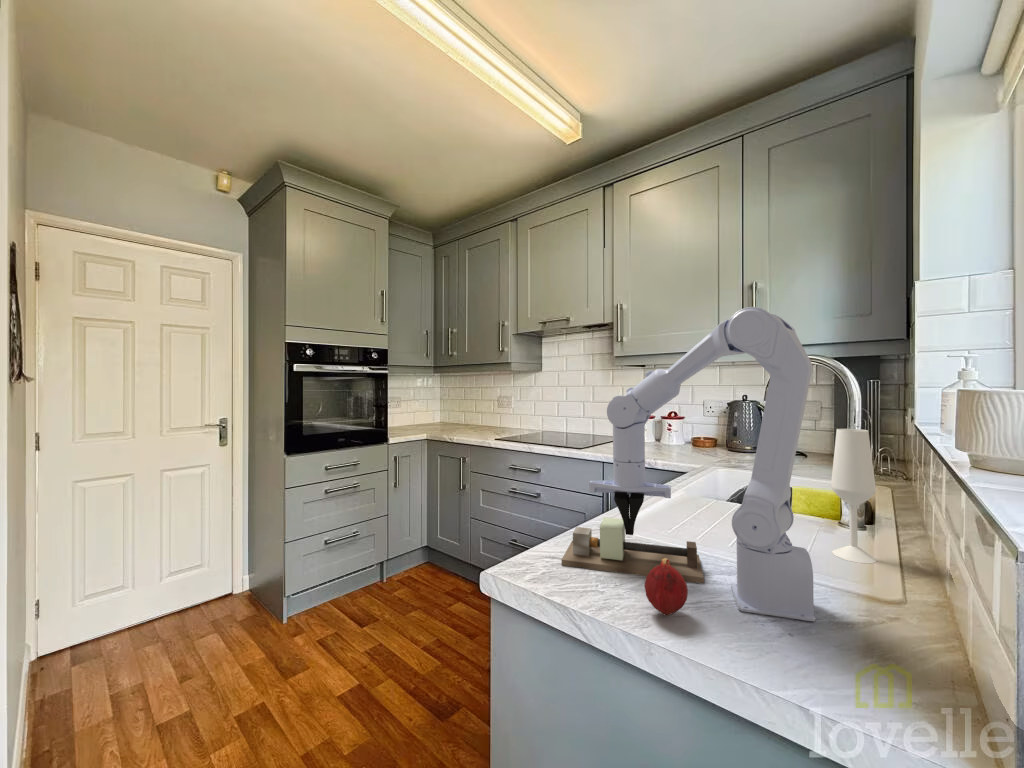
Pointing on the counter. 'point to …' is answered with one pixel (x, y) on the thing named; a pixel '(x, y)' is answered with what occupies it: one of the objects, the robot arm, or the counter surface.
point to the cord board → (632, 557)
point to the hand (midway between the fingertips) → (629, 533)
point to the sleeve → (612, 538)
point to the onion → (666, 588)
